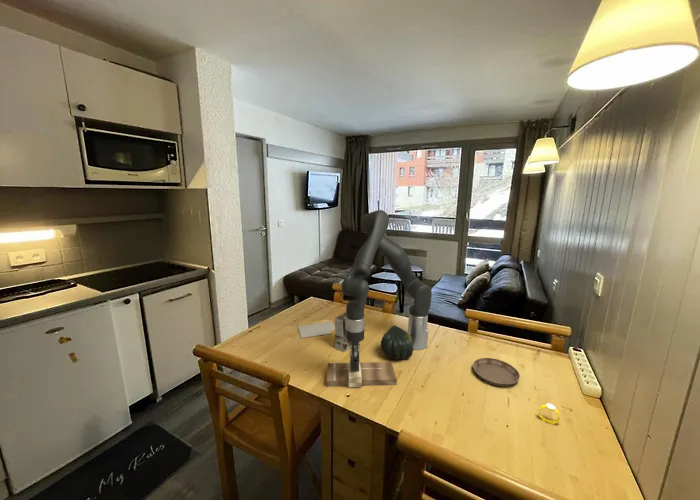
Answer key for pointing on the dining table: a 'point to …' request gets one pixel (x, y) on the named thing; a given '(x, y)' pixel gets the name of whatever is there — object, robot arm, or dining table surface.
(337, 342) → the coffee box
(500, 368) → the plant saucer
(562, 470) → the dining table surface
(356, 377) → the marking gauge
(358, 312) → the robot arm
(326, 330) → the paper stack
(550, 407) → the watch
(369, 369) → the walnut board
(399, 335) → the squash
